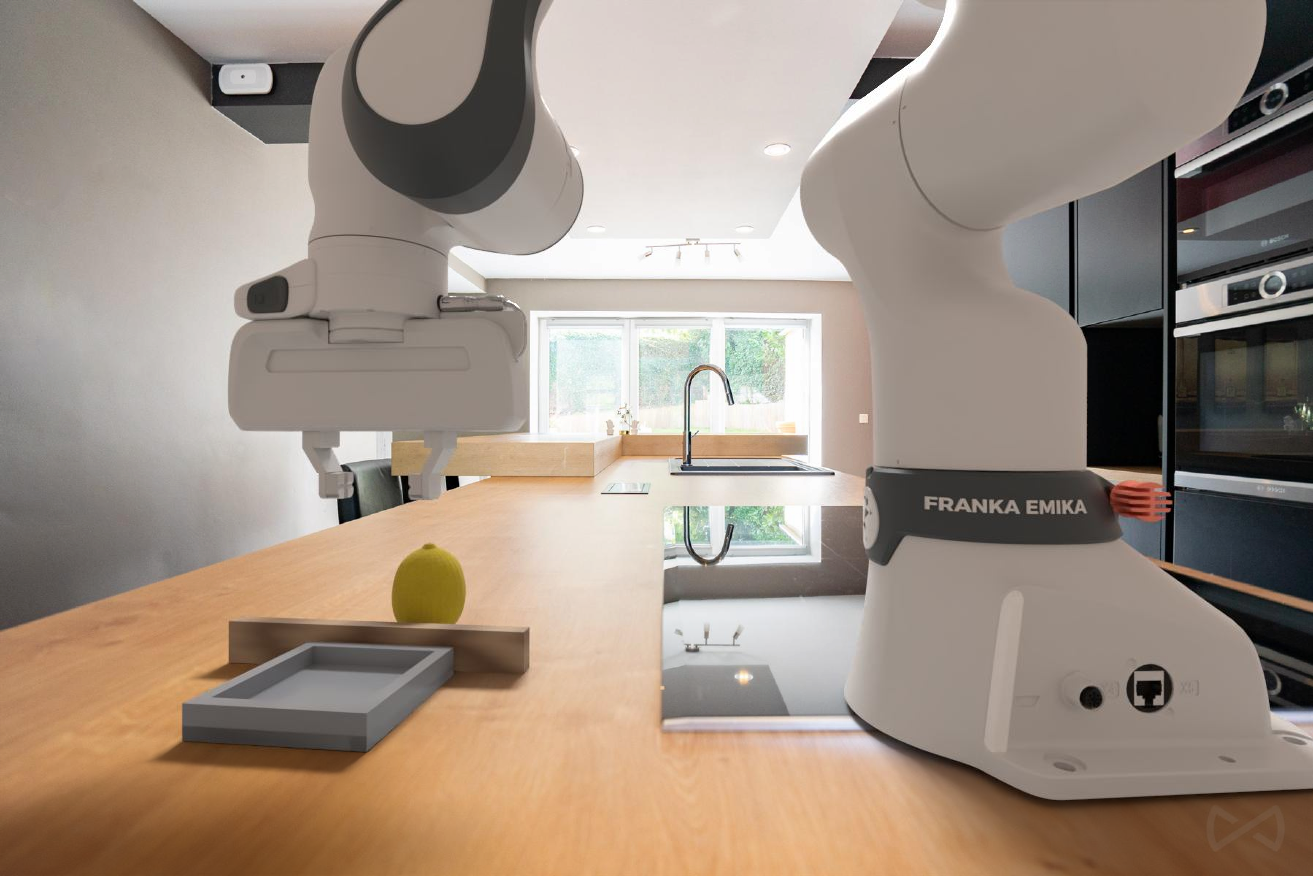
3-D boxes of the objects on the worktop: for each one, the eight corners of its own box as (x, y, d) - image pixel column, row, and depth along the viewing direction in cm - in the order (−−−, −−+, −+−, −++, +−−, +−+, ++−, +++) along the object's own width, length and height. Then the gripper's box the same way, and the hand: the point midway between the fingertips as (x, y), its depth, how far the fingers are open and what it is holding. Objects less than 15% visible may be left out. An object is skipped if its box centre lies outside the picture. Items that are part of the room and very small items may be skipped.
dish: (453, 676, 43) (453, 647, 43) (366, 751, 33) (366, 713, 33) (309, 669, 44) (309, 641, 44) (182, 740, 34) (182, 703, 34)
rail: (529, 669, 45) (529, 627, 45) (524, 676, 43) (524, 632, 43) (241, 656, 47) (241, 616, 47) (228, 662, 46) (228, 621, 46)
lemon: (442, 658, 47) (443, 550, 47) (376, 652, 48) (376, 547, 48) (478, 635, 52) (478, 538, 52) (417, 631, 53) (417, 536, 53)
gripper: (540, 304, 46) (540, 496, 46) (278, 310, 48) (277, 493, 48) (510, 282, 39) (510, 505, 39) (210, 291, 42) (209, 501, 42)
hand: (380, 498), depth 44 cm, fingers open, 5 cm apart
